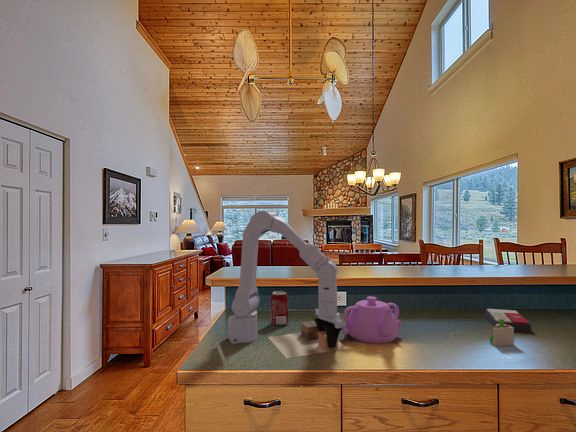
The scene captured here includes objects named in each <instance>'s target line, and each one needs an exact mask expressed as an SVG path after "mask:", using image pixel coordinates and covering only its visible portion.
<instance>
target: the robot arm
mask: <svg viewBox="0 0 576 432" xmlns="http://www.w3.org/2000/svg"><path fill="white" fill-rule="evenodd" d="M268 232H271V233H275V234H276V233H277V234H280V235H282V236H283V237H284V238H285V239H286V240H287V241H288V242H289V243H291V245H293V246H294V248H296V249H297V250H298V251H299V252H298V253H299V257H300V259H302V260H303V261H304V262H305V264H307V265H308V266H309V267H310V268H311V269H312V270H313V271H314V272H315V275H316V277H317V278H318V286H317V287H318V292H317V294H318V308H314V314H315V316H317V318H316V317H315V318H314V319H313V321H315V323H316V325H317V328H318V331H319V332H322V331H326V335H327V343H328V347H329V348H335V347H336V343H337V339H338V340H339V335H340V333H341V332H342V330H341V329H342V328H343V326H344V325H343V320H341V319H340V317H341V313H340V312H338V285H337V283H338V281H337V274H338V271H339V270H338V266H337V264H336V262H335V261H334V260H331V259H330V257H329V256H327V255H325V254H324V253H323V252H322V251H321V250H320V249H319V248H320V246H319V245H317V244H314V243H311V242H309V243H307V242H306V241H305V240H304V239H303V238H302V237H301V236H300V234H298V232H296V230H295V229H294V228H293V227H292V226H291V225H290V224H289V223H288V221H286V220H285V219H284V217H282V216H280V215H279V214H278V213H277V212H276V211H274V210H269V211H268V210H267V211H265V210H259V211H257V212H256V213H254V214H253V215H251V216H250V220H249V222H247V225H246V226H245V228H244V230H243V232H242V244H241V257H240V258H241V259H240V273H239V275H240V276H239V286H238V288H237V289H236V292H235V296H234V299H233V301H232V303H231V310H232V312H233V314H234V315H230V316H228V319H227V320H228V321H227V325H228V326H227V327H228V328H227V330H228V332H227V334H228V335H227V336H228V340H229V342H230V344H231V345H235V344H242V343H245V344H246V343H253V342H255V341H257V340H258V311H257V310H258V309H257V308H258V307H259V305H260V303H261V302H260V301H261V300H260V297H259V294H258V290H259V289H258V287H257V284H256V283H257V268H258V257H259V256H258V253H259V239H260V238H261V237H263V236H264V235H265V234H266V233H268Z"/></svg>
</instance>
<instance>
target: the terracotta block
mask: <svg viewBox="0 0 576 432" xmlns="http://www.w3.org/2000/svg"><path fill="white" fill-rule="evenodd" d="M338 341H339V338H338V339H337V343H336V347H335V348H338ZM318 345H319V346H320V347H322V348H323V349H324V350H329V349H335V348H329V347H328V343H327V335H326V331H322V332H318Z"/></svg>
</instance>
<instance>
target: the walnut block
mask: <svg viewBox="0 0 576 432" xmlns="http://www.w3.org/2000/svg"><path fill="white" fill-rule="evenodd" d="M300 330H301V332H300V333H301V334H302V335H303V336H304V337H305V338H306V339H307V340H308V339H315V338H318V332H319V331H318V328H317V325H316V323H315V321H314V320H310V321H301V322H300Z"/></svg>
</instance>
